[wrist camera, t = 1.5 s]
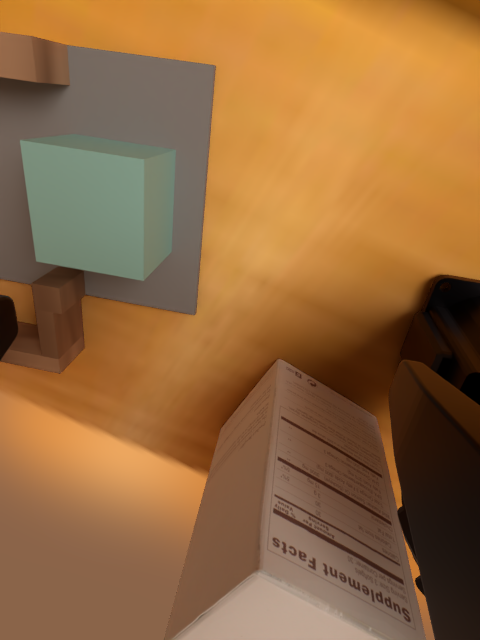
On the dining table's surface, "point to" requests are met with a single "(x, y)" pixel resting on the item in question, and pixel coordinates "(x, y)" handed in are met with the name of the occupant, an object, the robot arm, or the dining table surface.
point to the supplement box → (297, 526)
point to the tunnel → (61, 283)
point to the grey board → (121, 125)
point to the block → (100, 203)
